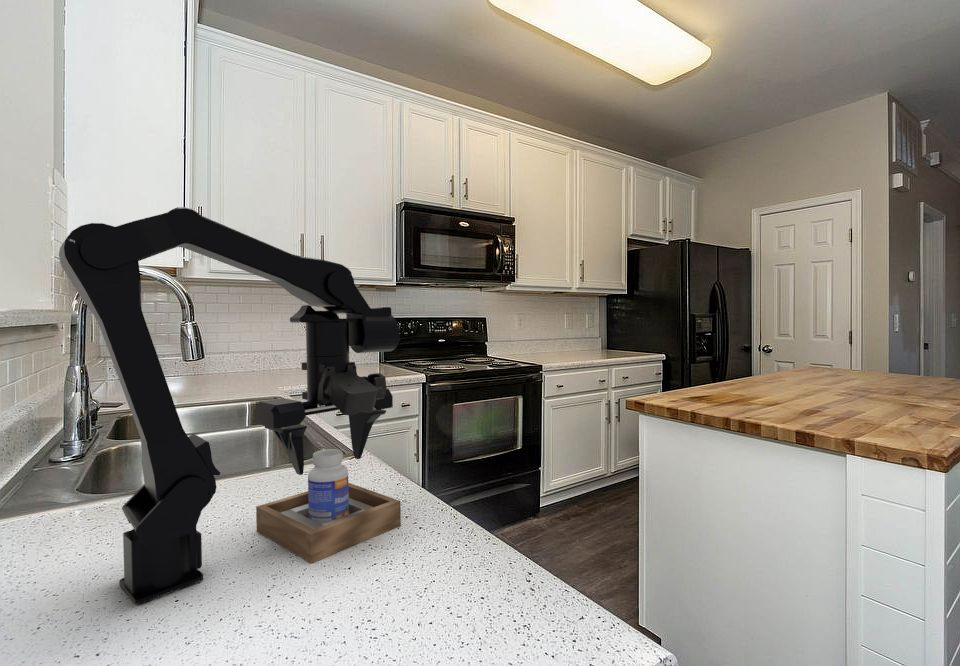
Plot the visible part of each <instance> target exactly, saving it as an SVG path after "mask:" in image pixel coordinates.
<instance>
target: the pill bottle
mask: <svg viewBox="0 0 960 666" xmlns="http://www.w3.org/2000/svg"><path fill="white" fill-rule="evenodd" d="M343 460H344V456H343V451H342V449H336V448H335V449H333V448H328V449H321V450H317V451H315V452H314V453H312V461H311V462H312V464H313V466H314V467H312V468H311V469H310V470H309V471H308V474H307V491H308V498H309V519H311V520H313V521H315V522H318V523H320V524H324V523H327V522H329V521H332V520H335V519H338V518H340V517H343V516H346V515H349V491H348V483H349V470H348V467H347V466H345V465H344V464H342V463H343Z"/></svg>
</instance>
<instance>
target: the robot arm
mask: <svg viewBox="0 0 960 666" xmlns="http://www.w3.org/2000/svg"><path fill="white" fill-rule="evenodd" d="M176 248H182V249H185V250H188V251H192V252H194V253H197V254H200V255H202V256H204V257H207V258H210V259H213V260H215V261H218V262H221V263H222V264H226V265H229V266H231V267H233V268H236V269H239V270H242V271H244V272H247V273H250V274H252V275H255V276H257V277H260V278H263V279H265V280H268V281H271V282H273V283H275V284H277V285H278V286H280V287H282V288H283V289H284V290H286V292H288V294H291V296H292V297H295V298H296V299H299V300H301V301H302V302H304V303H305V304H306V305H301V306H300V308H299V309H298V310H297V312H295V313H294V314H293V315H292V316H291V317H290V318H289V322H290V323H293V324H295V323H297V324H298V323H301V324H303V323H305V339H306V342H305V344H306V345H305V347H306V348H305V350H306V355H305V356H306V361H304V362H301V371H306V391H301V393H302V394H301V397H302V398H301V399H302V400H305V401H301V400H295V399H290V398H284V397H283V398H276V399H275V398H274V399H269V400H262V401H258V402H257V405H256V406H255V408H254V410H253V419H254V420H253V422H254V424H256V425H260V426H264V428H265V429H266V430H270V431H273V433H274V434H275V436H276V437H277V439H278V440H279V443H281V445H282V447H283V449H284V451H285V453H286V455H287V457H288V459H289V461H290V463H291V466H292V468H293V470H294V471H295V473H296V474H297V475H299V476H302V475H304V470H305V469H304V467H305V459H304V458H305V456H304V454H305V453H304V440H303V437H304V435H305V433H306V430H307V428H308V426H307V425H304V424H302V422H303V421H304V420H305V418H306V416H311V415H316V414H323V413H328V412H329V413H330V412H334V411H339V412H340V413H341V414H343V415H344V416H348V422H349V429H350V438H351V439H350V440H351V448H352V454H353V458H354V459H356V460H361V458H362V457H363V453H364V450H365V446H366V444H367V442H368V438H369V435H370V433H371V430H372V427H373V425H374V423H375V422H376V421H377V420H379V418H380V417H381V416H383V415H385V414H386V413H387V409H391V408H393V407H394V396H393V394H392V392H391V390H390V389H389V388H387V381H386V380H387V379H386V376H385V375H384V374H382V373H381V372H377V373H376V372H375V373H370V374H368V375H367V376H359V375H358V373H357V365H356V362H355V361H350V348H351V350H352V351H353V352H354V353H356V354H364V353H365V354H367V353H382V352H392V351H394V350H395V349H396V348H397V347H398V345H399V342H400V338H401V329H400V328H399V324H398V321H397V320H396V318H395V317H394V315H392V308H391V307H390V306H385V307H383V306H379V307H374V308H373V307H370V305H369V304H368V302H367V301H366V299H365V297H364V296H363V294H362V293H361V291H359V288H357V285H356V284H355V278H354V276H353V275H352V271H351V270H350V269H349V267H346V266H345V265H343V264H341V263H337V262H335V261H330V260H326V259H325V260H324V259H320V258H315V257H307V256H303V255H302V256H301V255H297V254H293V253H291V252H288V251H285V250H283V249H281V248H278V247H276V246H274V245H271V244H270V243H267V242H264V241H263V240H259V239H257V238H255V237H252V236H250V235H248V234H245V233H244V232H241V231H238V230H236V229H234V228H231V227H229V226H226V225H224V224H222V223H220V222H217V221H215V220H212V219H210V218H209V217H206V216H203V215H201V214H200V213H199V212H197V211H195V210H194V209H193V208H189V207H186V206H180V207H176V208H172V209H170V210H168V211H167V212H165V213H161V214H157V215H153V216H149V217H144V218H142V219H137V220H133V221H129V222H126V223H123V224H119V225H117V226H113V225H111V224H106V223H102V222H91V223H86V224H83V225H79V226H77V228H75V229H73V230H72V231H71V232H70V233H69V234H68V235H67V236H66V238H65V240H64V241H63V243H62V244H61V246H60V247H59V250H58V258H59V264H60V265H61V267H62V269H63V271H64V273H65V274H66V276H67V277H68V279H69V280H70V282H71V284H72V286H73V287H74V289H75V290H76V292H77V294H78V295H79V297H80V298H81V299H82V300H83V302H84V303H85V304H86V306H87V308H88V309H89V311H90V312H91V313H92V315H93V317H94V318H95V319H96V322H97V323H98V326H99V329H100V331H101V334H102V337H103V340H104V342H105V344H106V348H107V351H108V353H109V356H110V359H111V361H112V364H113V367H114V370H115V372H116V375H117V378H118V380H119V383H120V385H121V389H122V392H123V393H124V397H125V399H126V402H127V404H128V407H129V410H130V413H131V416H132V418H133V421H134V423H135V426H136V428H137V429H136V430H137V431H138V435H139V437H140V449H141V450H140V452H141V453H140V455H141V457H140V458H141V467H142V468H141V469H142V475H143V482H144V484H142V486H140V487H139V489H138V490H137V491H136V492H135V493H134V494H133V495H132V496H131V497H130V498H129V499H128V500H127V501H126V502H125V503H124V504H123V505H122V506H121V510H122V512H123V514H124V516H125V518H126V519H127V522H128V523H129V524H130V525H131V526H132V529H131V530H128V531H124V532H123V533H122V539H123V544H122V545H123V546H122V547H123V576H124V577H122V578H120V579H119V582H118V583H119V586H120V587H121V588H122V589H123V591H124V592H125V593H126V595H127V596H128V597H129V598H130V599H131V600H132V602H133V603H134V604H136V605H138V604H142V603H145V602H149V601H150V600H153V599H156V598H159V597H161V596H163V595H166V594H168V593H169V594H170V593H171V592H174V591H177V590H179V589H181V588H184V587H187V586H189V585H192V584H195V583H198V582H199V581H202V580H203V579H204V573H202V572H201V571H200V569H201V568H202V566H203V550H202V549H203V548H202V547H203V546H202V533H201V532H200V531H198V530H197V525H198V522H199V520H200V516H201V514H202V511H203V510H204V509H205V508H206V507H207V506H208V504H209V503H211V501H212V499H213V497H214V495H215V494H216V491H217V483H216V478H215V476H220V475H221V472H220V470H218V469H217V468H216V466H215V464H214V462H213V457H212V450H211V445H210V442H209V441H208V440H206V439H204V438H202V437H201V436H199V435H197V434H196V433H193V434H191V435H188V434H187V433H186V431H185V430H184V427H183V424H182V422H181V420H180V416H179V414H178V411H177V408H176V405H175V402H174V399H173V396H172V394H171V391H170V387H169V384H168V382H167V379H166V377H165V373H164V371H163V367H162V364H161V362H160V360H159V355H158V354H157V351H156V348H155V345H154V341H153V338H152V336H151V333H150V331H149V328H148V325H147V321H146V320H145V317H144V314H143V310H142V281H141V280H142V279H141V271H140V263H139V262H141V261H143V260H146V259H147V258H151V257H154V256H156V255H159V254H162V253H165V252H167V251H170V250H173V249H176ZM313 307H317V308H322V309H324V310H315V309H314V308H313ZM341 314H342V315H343V314H345V315H346V318H340V317H339V315H341ZM385 409H386V410H385Z"/></svg>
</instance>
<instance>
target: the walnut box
mask: <svg viewBox="0 0 960 666" xmlns="http://www.w3.org/2000/svg"><path fill="white" fill-rule="evenodd" d="M348 491H349V515H346V516H343V517H340V518H338V519H335V520H332V521H329V522H327V523H324V524H320V523H318V522H315V521H313V520H311V519H309V498H308V490H307V491H304V492H300V493H297V494H294V495H290V496H288V497H284V498H280V499H277V500H274V501H270V502H267V503H264V504H260V505H256V508H255V511H256V512H255V513H256V515H255V516H256V517H255V518H256V519H255V520H256V521H255V522H256V532H257V533H258V534H260V535H262V536H264V537H265V538H267V539H269V540H271V542H274V543H276V544H278V545H279V546H280V547H283V548H284V549H286V550H287V551H289V552H291V553H293V554H295V555H297V556H298V557H299V558H301V559H304V560H305V561H307V562H308V563H309V564H313V563H315V562H318V561H320V560H322V559H323V560H324V559H325V558H328V557H330V556H331V555H335V554H336V553H339V552H341V551H344V550H345V549H348V548H350V547H353V546H357V544H361V543H362V542H364V541H365V542H366V541H367V540H370V539H372V538H374V537H377V536H379V535H381V534H384V533H386V532H388V531H391V530H393V529H395V528H398V527H401V525H402V523H401V521H402V519H401V511H402V509H401V500H399V499H397V498H394V497H390V496H387V495H384V494H383V493H378V492H376V491H373V490H371V489H368V488H365V487H362V486H359V485H356V484H354V483H351V482H348Z"/></svg>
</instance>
